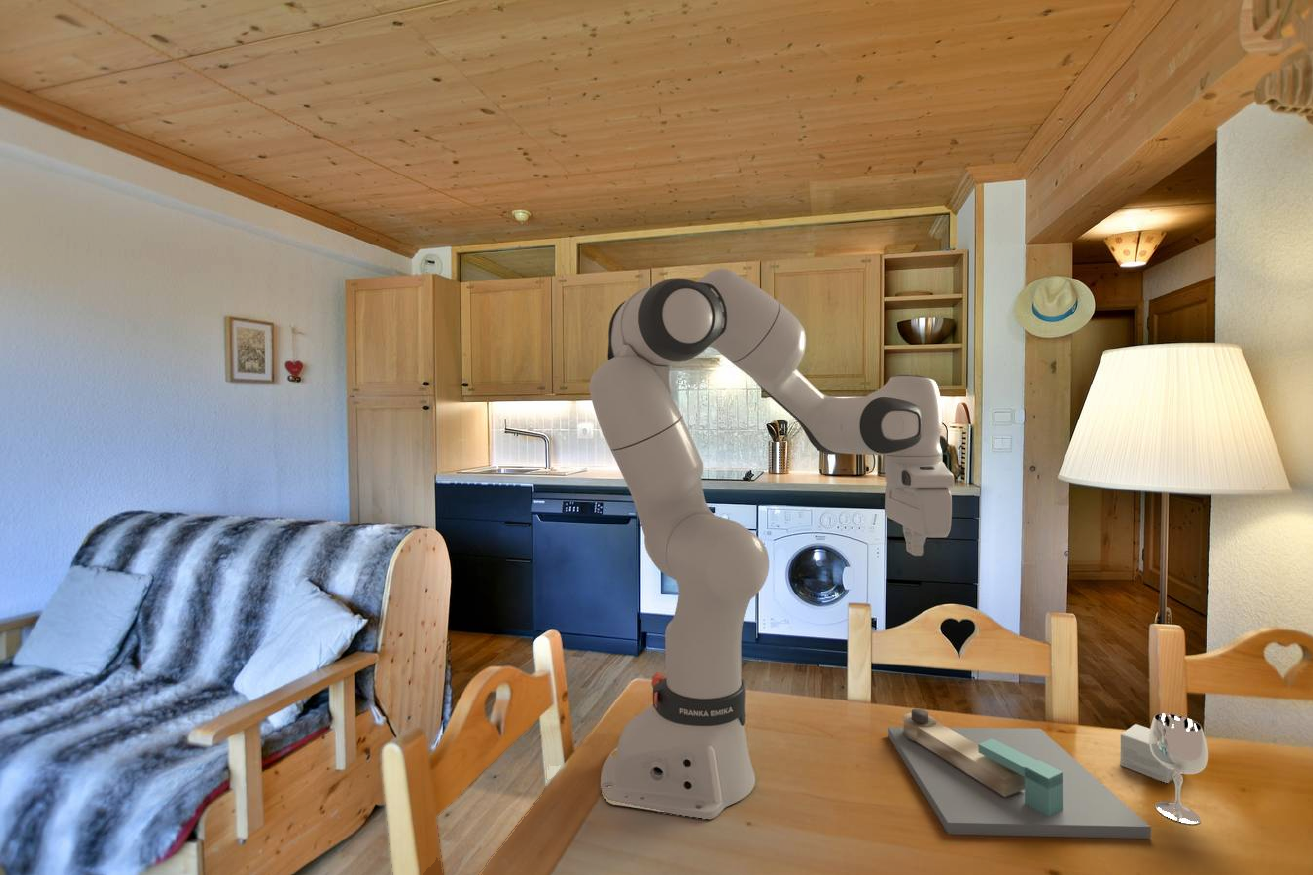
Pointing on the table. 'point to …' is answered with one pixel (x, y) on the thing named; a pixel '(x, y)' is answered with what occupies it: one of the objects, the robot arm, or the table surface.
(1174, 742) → the wineglass
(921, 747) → the base board
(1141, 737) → the small box
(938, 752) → the link
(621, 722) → the table surface
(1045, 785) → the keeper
